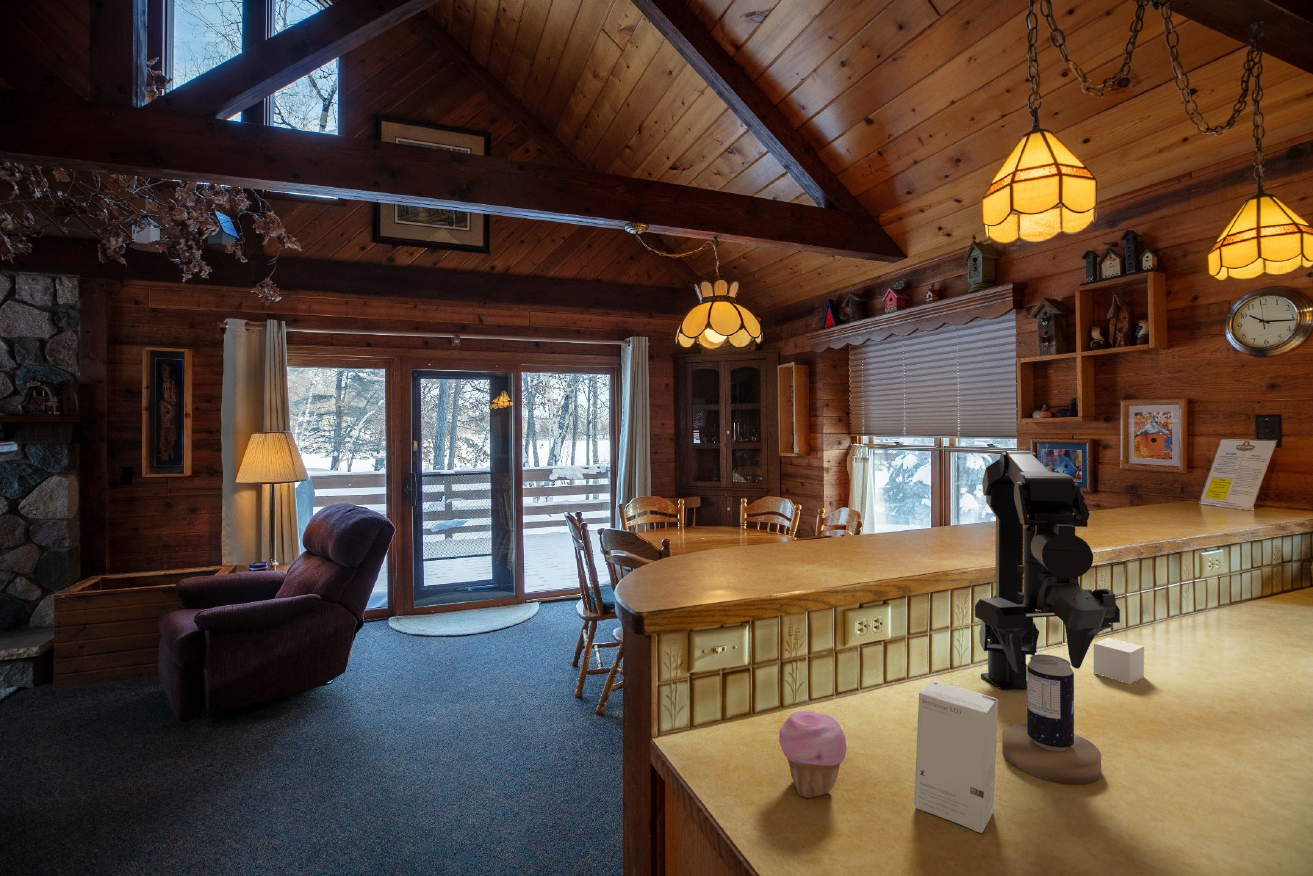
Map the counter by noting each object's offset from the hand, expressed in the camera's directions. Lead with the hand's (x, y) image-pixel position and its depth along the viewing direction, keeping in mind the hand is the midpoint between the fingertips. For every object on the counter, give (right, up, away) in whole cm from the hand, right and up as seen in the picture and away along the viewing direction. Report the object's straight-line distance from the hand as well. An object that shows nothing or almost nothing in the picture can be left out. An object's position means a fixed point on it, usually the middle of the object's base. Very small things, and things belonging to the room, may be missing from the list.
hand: (1046, 669), depth 91 cm
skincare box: (-19, -14, -12) cm, 26 cm away
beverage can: (0, -11, -1) cm, 11 cm away
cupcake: (-35, -14, -7) cm, 39 cm away
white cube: (+32, -12, +29) cm, 45 cm away
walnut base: (0, -13, 0) cm, 13 cm away
